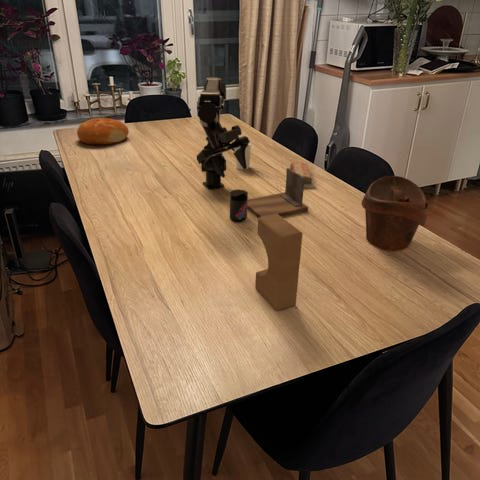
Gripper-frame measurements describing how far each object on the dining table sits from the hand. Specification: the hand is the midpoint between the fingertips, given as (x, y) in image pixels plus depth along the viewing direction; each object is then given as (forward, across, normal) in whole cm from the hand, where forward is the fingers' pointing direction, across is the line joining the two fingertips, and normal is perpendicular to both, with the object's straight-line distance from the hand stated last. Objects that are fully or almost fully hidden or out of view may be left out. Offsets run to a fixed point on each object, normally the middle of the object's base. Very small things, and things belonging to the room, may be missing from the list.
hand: (235, 172), depth 149 cm
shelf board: (+16, +11, +3) cm, 19 cm away
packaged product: (+10, +37, +14) cm, 41 cm away
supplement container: (+14, -4, +4) cm, 15 cm away
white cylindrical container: (-7, +28, +32) cm, 44 cm away
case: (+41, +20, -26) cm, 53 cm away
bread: (-52, +1, +86) cm, 100 cm away
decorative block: (+37, -25, -26) cm, 52 cm away
